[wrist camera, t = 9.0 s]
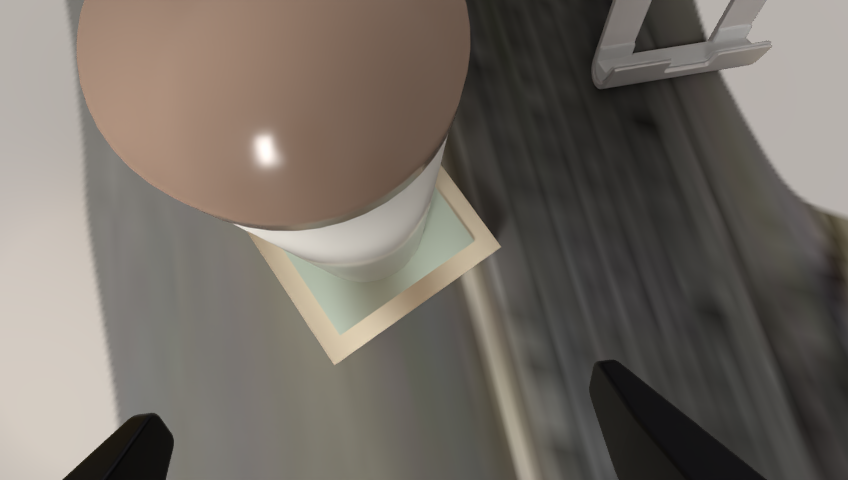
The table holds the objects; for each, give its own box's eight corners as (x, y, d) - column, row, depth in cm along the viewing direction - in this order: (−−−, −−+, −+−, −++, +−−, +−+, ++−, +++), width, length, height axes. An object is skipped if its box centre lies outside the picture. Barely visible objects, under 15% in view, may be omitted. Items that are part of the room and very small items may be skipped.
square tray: (341, 360, 20) (333, 365, 18) (241, 207, 21) (222, 195, 19) (492, 252, 21) (501, 246, 19) (390, 114, 22) (389, 92, 20)
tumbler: (379, 308, 18) (321, 301, 5) (276, 237, 18) (-12, 72, 6) (448, 206, 19) (540, -7, 6) (349, 141, 19) (244, -191, 7)
